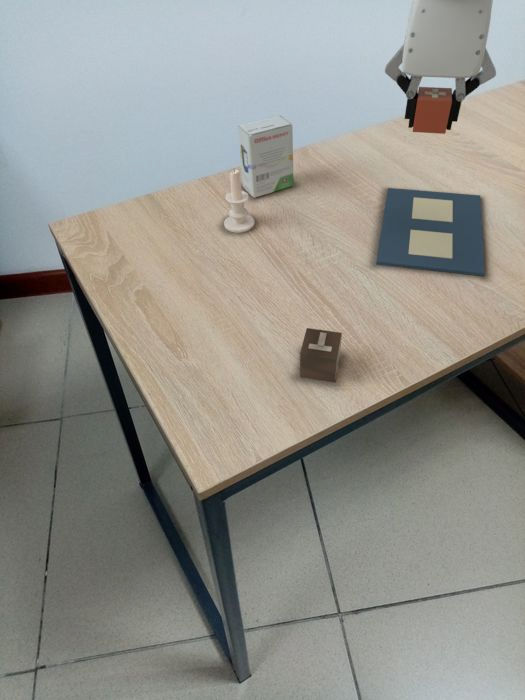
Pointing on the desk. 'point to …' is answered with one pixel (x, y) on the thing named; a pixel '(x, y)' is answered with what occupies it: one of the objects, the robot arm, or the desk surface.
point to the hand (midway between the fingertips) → (429, 123)
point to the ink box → (266, 155)
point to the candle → (237, 207)
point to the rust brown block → (432, 110)
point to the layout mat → (432, 232)
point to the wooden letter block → (320, 354)
